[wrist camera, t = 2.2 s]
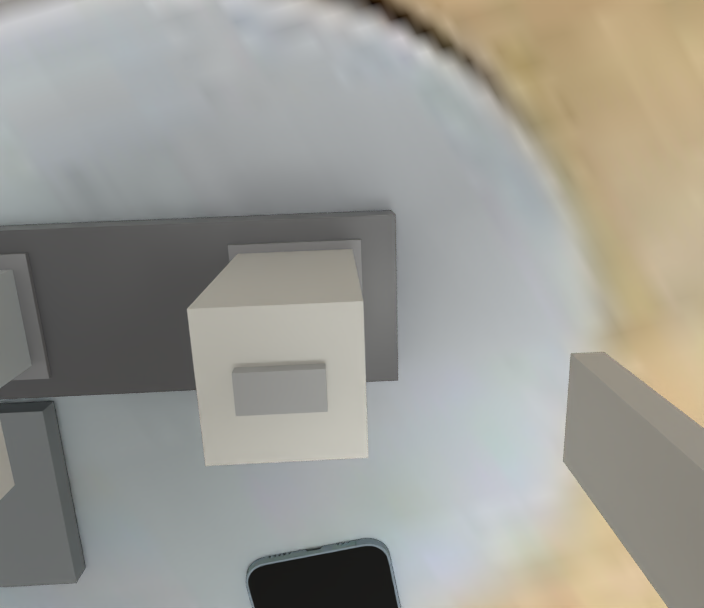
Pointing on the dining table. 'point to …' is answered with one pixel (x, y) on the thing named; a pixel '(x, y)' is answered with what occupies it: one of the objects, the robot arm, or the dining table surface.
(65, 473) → the coaster
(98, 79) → the dining table surface
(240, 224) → the power strip
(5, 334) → the cube
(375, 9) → the dining table surface
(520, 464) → the dining table surface
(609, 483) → the robot arm
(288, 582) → the smartphone
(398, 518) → the dining table surface
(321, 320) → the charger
